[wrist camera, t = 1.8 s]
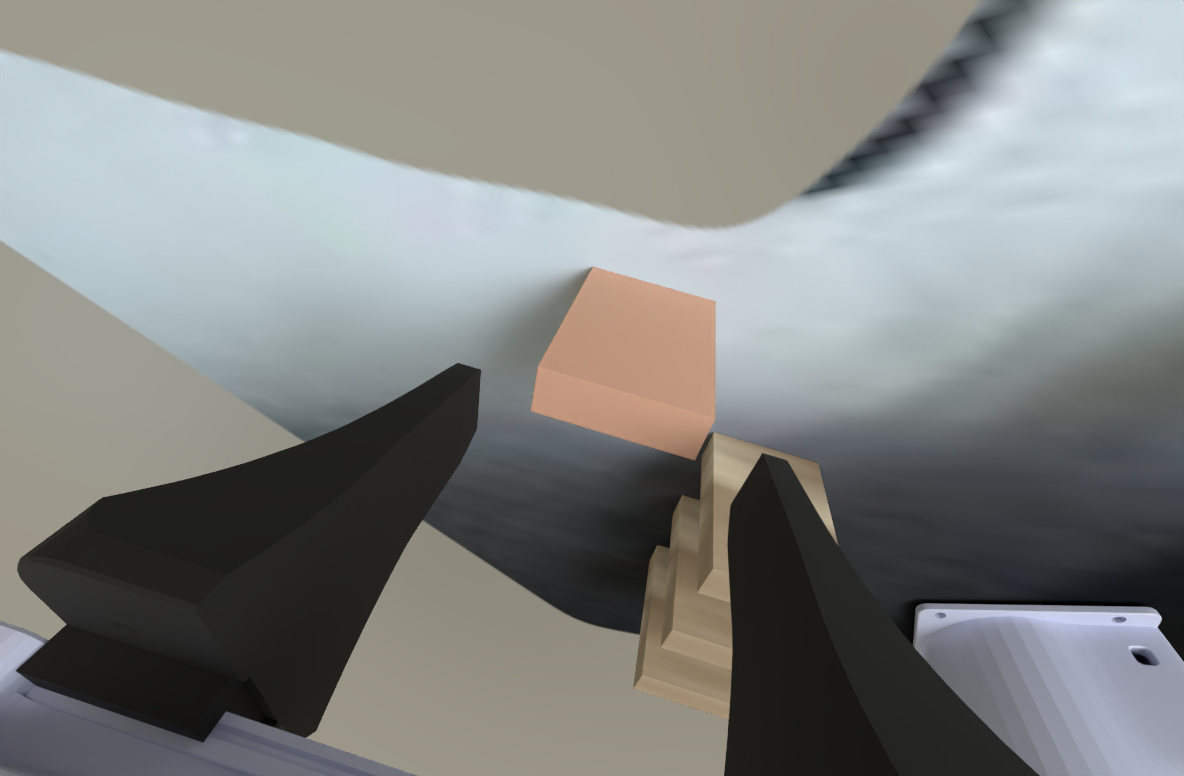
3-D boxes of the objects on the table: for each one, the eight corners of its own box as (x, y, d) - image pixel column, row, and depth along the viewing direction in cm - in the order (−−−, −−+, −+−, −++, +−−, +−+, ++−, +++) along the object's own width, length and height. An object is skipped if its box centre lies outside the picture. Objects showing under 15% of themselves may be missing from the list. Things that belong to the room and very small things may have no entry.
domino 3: (801, 486, 22) (830, 633, 16) (701, 456, 22) (697, 592, 17) (817, 462, 21) (854, 612, 16) (713, 432, 21) (713, 568, 16)
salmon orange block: (701, 336, 19) (694, 460, 13) (585, 303, 19) (530, 411, 13) (715, 301, 18) (715, 418, 12) (592, 266, 18) (537, 365, 12)
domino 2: (729, 584, 28) (732, 720, 22) (649, 560, 28) (633, 688, 22) (739, 570, 27) (746, 708, 21) (657, 544, 27) (642, 674, 21)
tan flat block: (760, 540, 25) (773, 683, 19) (672, 513, 25) (660, 647, 19) (774, 522, 24) (792, 667, 18) (682, 494, 24) (672, 630, 18)
